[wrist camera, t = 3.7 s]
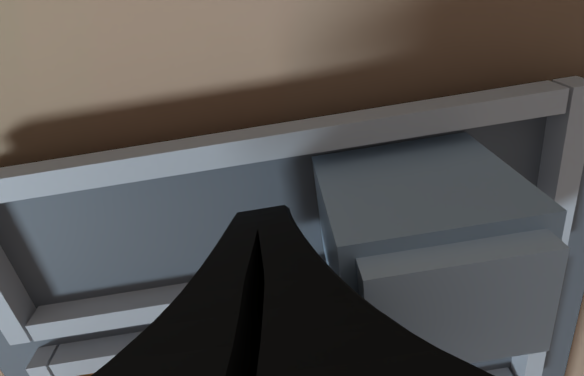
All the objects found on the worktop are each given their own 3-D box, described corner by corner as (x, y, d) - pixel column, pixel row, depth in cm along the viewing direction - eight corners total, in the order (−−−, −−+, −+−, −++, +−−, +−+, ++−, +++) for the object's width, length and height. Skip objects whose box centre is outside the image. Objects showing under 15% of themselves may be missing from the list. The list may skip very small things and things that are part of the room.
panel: (526, 442, 19) (553, 489, 18) (122, 505, 20) (108, 558, 18) (601, 57, 11) (664, 72, 10) (-89, 167, 11) (-152, 203, 10)
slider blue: (460, 229, 12) (562, 359, 8) (324, 250, 12) (356, 391, 8) (465, 132, 11) (591, 229, 7) (311, 156, 11) (343, 268, 7)
